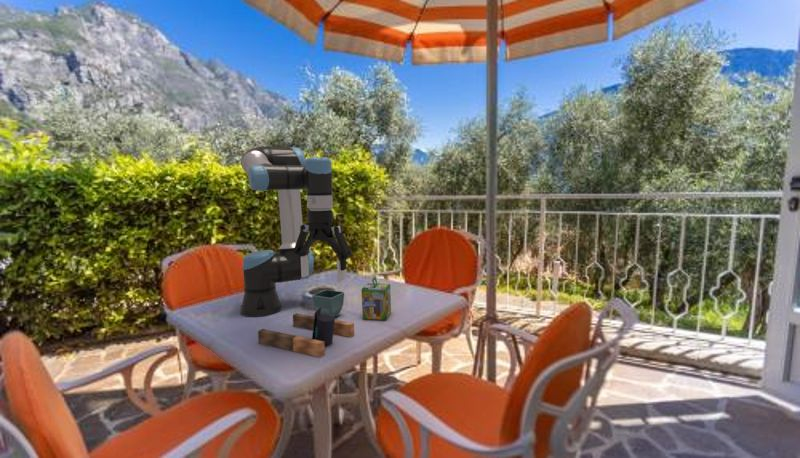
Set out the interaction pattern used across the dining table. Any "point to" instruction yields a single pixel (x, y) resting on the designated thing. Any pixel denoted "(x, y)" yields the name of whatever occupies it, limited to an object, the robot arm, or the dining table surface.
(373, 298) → the chalk box
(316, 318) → the speaker
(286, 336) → the channel
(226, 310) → the dining table surface
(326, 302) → the flower pot
